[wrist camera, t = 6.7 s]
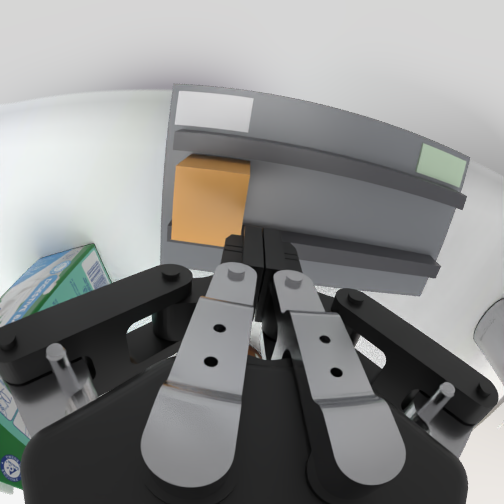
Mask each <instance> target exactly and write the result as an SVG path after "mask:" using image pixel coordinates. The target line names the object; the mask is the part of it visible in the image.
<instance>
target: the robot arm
mask: <svg viewBox="0 0 504 504" xmlns="http://www.w3.org/2000/svg"><path fill="white" fill-rule="evenodd" d="M254 314H255V322H262V328H261V333H260V346H261V354H262V359H261V358H257V357H254V356H251V355H247V354H248V347H249V340H250V332H251V325H252V321H253V319H254ZM150 315H152V322H150V323H148V324H146V325H144V326H142V327H139V328H137V329H135V330H133V331H131V332H129V333H127V330H128V329H129V327H130V326H131V325H132V324H133V323H135V322H137V321H139V320H141V319H143V318H145V317H148V316H150ZM126 333H127V334H126ZM360 335H361V336H362V337H364V338H365V339H366V340H368V341H369V342H371V343H372V344H373V345H375V346H376V347H377V348H379V349H380V350H381V351H382V352H383V353H384V354H385V356H386V364H385V366H384V367H383V369H381V368H380V367H379V366H377V365H376V364H375V363H373V362H372V361H371V360H369V359H368V358H367V357H365V356H364V355H363V354H362V353H360V352H359V351H358V350H356V349H355V348H354V347H355V345H356V343H357V341H358V339H359V337H360ZM474 340H475V342H476V344H477V345H478V346H479V348H480V349H481V351H482V352H483V354H484V355H485V357H486V359H487V360H488V362H489V363H490V365H491V366H492V368H493V369H494V371H495V372H496V374H497V376H498V377H499V379H500V381H501V382H502V384H503V385H504V299H502V300H500V301H498V302H497V303H496V304H494V305H493V306H492V307H491V308H490V309H489V310H488V311H487V312H486V314H485V315H484V316H483V317H482V319H481V320H480V322H479V324H478V326H477V328H476V330H475V334H474ZM177 352H178V354H177V356H175V357H170V356H172V355H173V354H175V353H177ZM168 357H170V358H168ZM0 377H1V379H2V381H3V382H4V384H5V386H6V387H7V389H8V390H9V392H10V393H11V395H12V396H13V399H14V401H15V404H16V406H17V408H18V411H19V413H20V415H21V418H22V420H23V422H24V424H25V426H26V428H27V430H28V433H29V435H30V437H31V439H30V441H29V442H28V443H27V445H26V447H25V449H24V452H23V454H22V458H21V463H20V474H21V481H22V487H23V491H24V499H25V504H466V498H467V491H468V481H467V475H466V471H465V469H464V467H463V465H462V463H461V462H460V460H459V457H460V455H461V453H462V451H463V449H464V447H465V445H466V443H467V440H468V438H469V436H470V433H471V432H472V429H473V428H474V427H475V426H476V425H477V424H478V423H479V422H480V421H481V420H482V419H483V418H484V417H485V416H486V415H487V414H488V413H489V412H490V411H491V410H492V408H493V407H494V406H495V405H496V404H497V402H498V392H497V390H496V388H495V386H494V385H493V384H492V382H491V381H490V380H488V379H487V378H486V377H484V376H483V375H482V374H480V373H479V372H477V371H476V370H475V369H473V368H472V367H471V366H469V365H468V364H466V363H465V362H464V361H462V360H461V359H459V358H458V357H456V356H455V355H454V354H452V353H451V352H449V351H448V350H447V349H445V348H444V347H442V346H441V345H439V344H438V343H437V342H435V341H434V340H432V339H431V338H429V337H428V336H426V335H425V334H424V333H422V332H421V331H419V330H418V329H416V328H415V327H413V326H412V325H410V324H409V323H407V322H406V321H405V320H403V319H402V318H400V317H399V316H397V315H396V314H394V313H393V312H391V311H390V310H388V309H387V308H385V307H384V306H382V305H381V304H379V303H378V302H376V301H375V300H373V299H372V298H370V297H369V296H367V295H366V294H364V293H363V292H360V291H358V290H355V289H350V288H344V289H340V290H338V291H337V292H336V295H335V298H334V297H331V296H327V295H324V294H321V293H319V292H317V291H316V289H315V286H314V284H313V282H312V280H311V279H310V278H309V277H308V276H306V275H305V274H303V272H302V268H301V265H300V261H299V257H298V254H297V250H296V248H295V247H294V246H293V245H292V244H291V243H289V242H282V239H281V234H280V230H275V229H269V228H263V229H262V227H255V226H248V225H245V230H244V236H242V235H235V234H231V235H230V236H228V237H227V238H226V240H225V245H224V249H223V254H222V259H221V263H220V265H219V266H218V267H217V268H216V270H215V272H214V275H211V276H209V277H204V278H192V273H191V271H190V270H189V269H187V268H186V267H184V266H181V265H177V264H163V265H159V266H156V267H153V268H151V269H148V270H145V271H143V272H140V273H137V274H135V275H132V276H129V277H127V278H124V279H121V280H119V281H116V282H113V283H111V284H108V285H106V286H103V287H100V288H98V289H95V290H92V291H90V292H87V293H85V294H82V295H80V296H77V297H74V298H72V299H69V300H67V301H64V302H62V303H59V304H57V305H54V306H51V307H49V308H46V309H44V310H41V311H39V312H36V313H34V314H31V315H29V316H26V317H24V318H21V319H19V320H17V321H14V322H12V323H9V324H7V325H4V326H2V327H0ZM108 391H109V392H108ZM106 392H107V393H106ZM104 393H105V394H104ZM101 395H102V396H101ZM99 396H100V397H99Z"/></svg>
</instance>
